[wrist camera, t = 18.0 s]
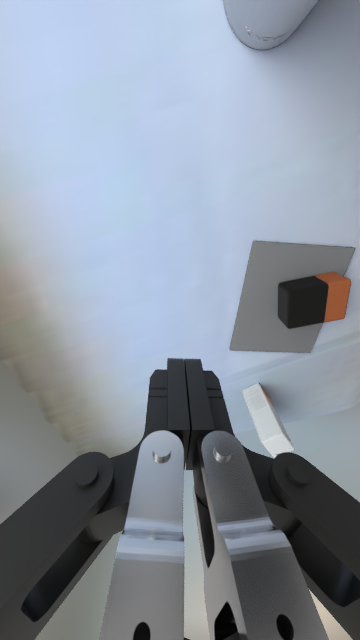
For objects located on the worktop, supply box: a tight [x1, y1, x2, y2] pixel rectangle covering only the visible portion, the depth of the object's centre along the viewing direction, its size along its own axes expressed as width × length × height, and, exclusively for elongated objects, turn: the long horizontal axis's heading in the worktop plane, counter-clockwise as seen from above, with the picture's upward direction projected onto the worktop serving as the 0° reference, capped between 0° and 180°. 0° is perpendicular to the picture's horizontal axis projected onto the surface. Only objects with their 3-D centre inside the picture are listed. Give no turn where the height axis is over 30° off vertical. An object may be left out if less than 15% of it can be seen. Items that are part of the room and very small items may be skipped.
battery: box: [278, 272, 351, 329], centre depth 36 cm, size 4×7×10 cm
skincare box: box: [242, 383, 294, 458], centre depth 45 cm, size 6×4×12 cm
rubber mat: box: [230, 241, 355, 353], centre depth 39 cm, size 20×16×1 cm
